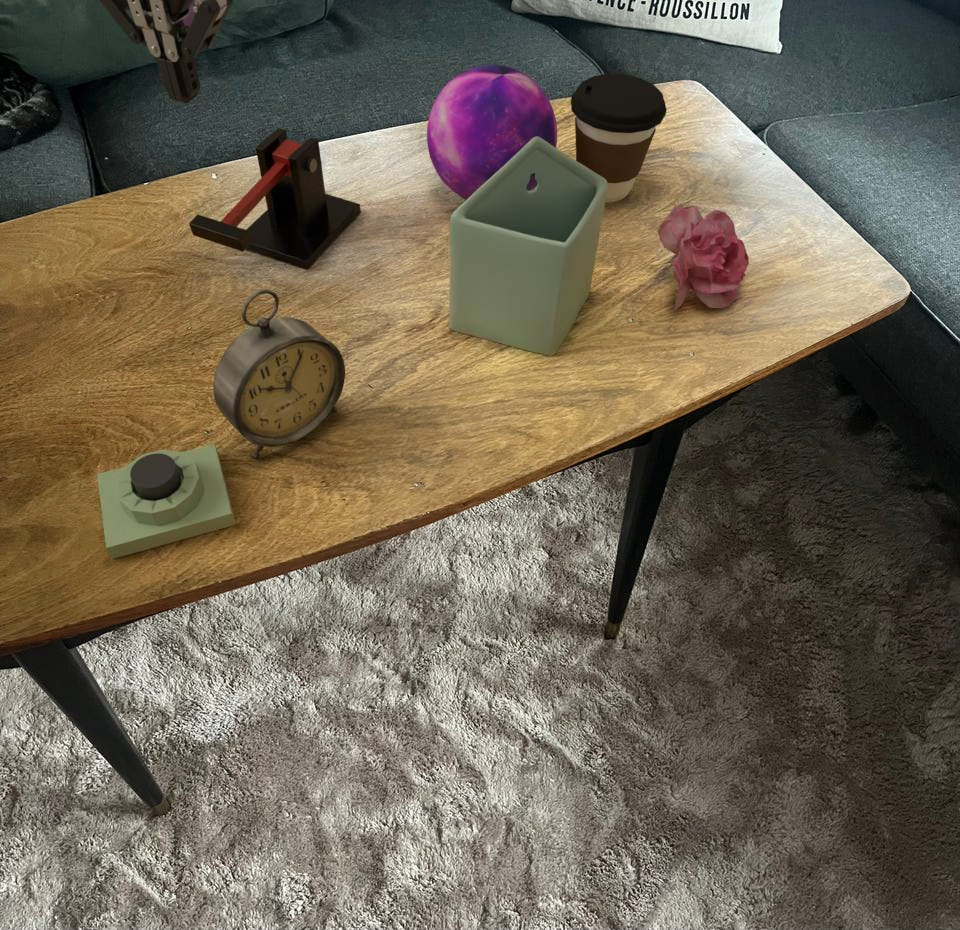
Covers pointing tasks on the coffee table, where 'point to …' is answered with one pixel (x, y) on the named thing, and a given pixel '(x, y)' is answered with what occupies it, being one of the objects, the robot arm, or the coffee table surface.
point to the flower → (704, 255)
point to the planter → (526, 250)
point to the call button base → (165, 504)
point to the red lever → (245, 205)
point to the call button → (155, 476)
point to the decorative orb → (486, 125)
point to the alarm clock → (278, 379)
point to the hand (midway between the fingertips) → (185, 97)
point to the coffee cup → (616, 127)
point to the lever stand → (298, 207)
